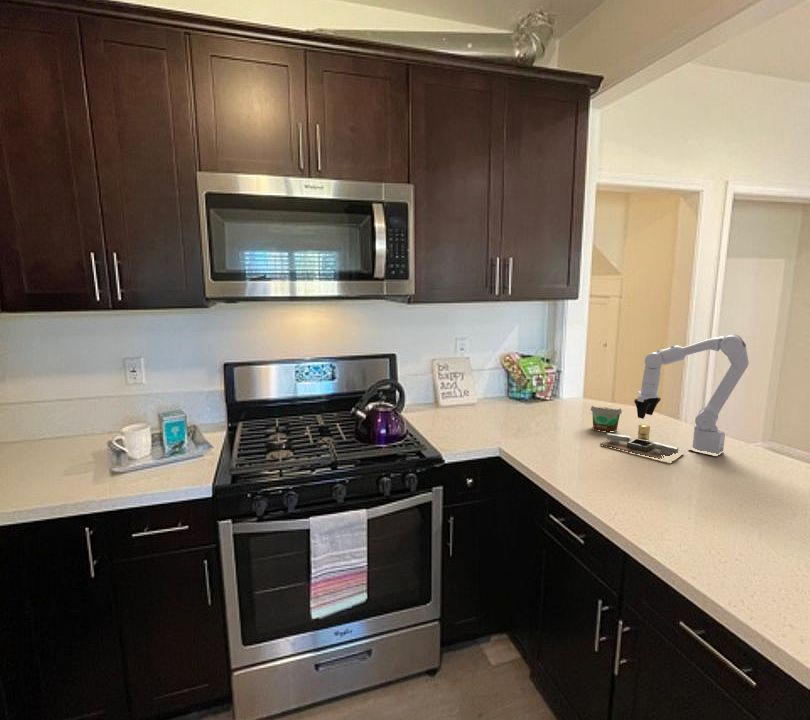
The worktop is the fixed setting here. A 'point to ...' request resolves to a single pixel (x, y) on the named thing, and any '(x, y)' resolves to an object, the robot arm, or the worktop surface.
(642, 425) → the brass coupler
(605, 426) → the food container
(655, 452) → the stand
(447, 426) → the worktop surface
